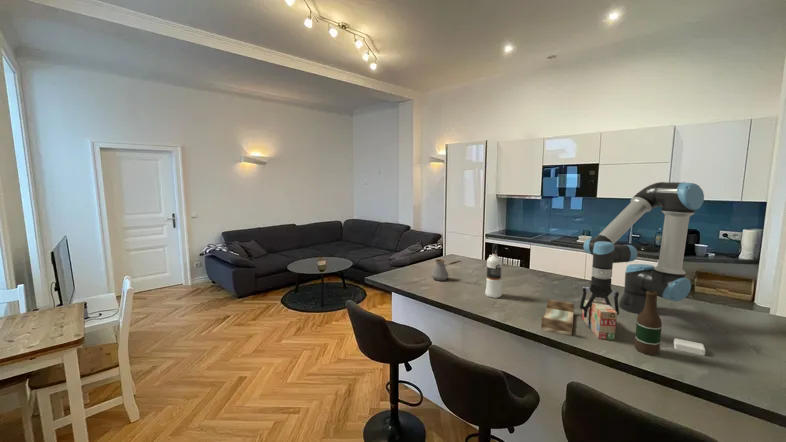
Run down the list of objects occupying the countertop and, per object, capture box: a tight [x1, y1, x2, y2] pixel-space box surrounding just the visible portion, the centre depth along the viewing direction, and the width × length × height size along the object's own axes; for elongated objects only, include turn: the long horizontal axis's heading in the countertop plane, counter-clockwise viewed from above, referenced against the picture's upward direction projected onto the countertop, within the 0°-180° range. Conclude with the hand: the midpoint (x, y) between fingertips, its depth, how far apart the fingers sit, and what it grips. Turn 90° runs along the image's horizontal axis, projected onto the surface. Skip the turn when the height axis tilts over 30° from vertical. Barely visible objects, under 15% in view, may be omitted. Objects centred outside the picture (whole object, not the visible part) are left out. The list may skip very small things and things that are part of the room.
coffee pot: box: [430, 258, 463, 282], centre depth 222 cm, size 21×12×15 cm, turn 52°
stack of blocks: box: [581, 299, 618, 341], centre depth 150 cm, size 21×6×12 cm, turn 168°
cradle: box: [540, 299, 575, 337], centre depth 158 cm, size 12×26×6 cm, turn 150°
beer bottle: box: [634, 291, 663, 356], centre depth 130 cm, size 8×8×24 cm
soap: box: [673, 338, 706, 356], centre depth 132 cm, size 9×6×3 cm, turn 54°
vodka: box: [484, 243, 503, 299], centre depth 192 cm, size 9×9×30 cm
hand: (597, 326), depth 151 cm, fingers closed on stack of blocks, 7 cm apart
